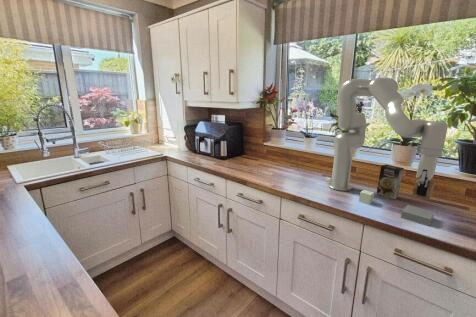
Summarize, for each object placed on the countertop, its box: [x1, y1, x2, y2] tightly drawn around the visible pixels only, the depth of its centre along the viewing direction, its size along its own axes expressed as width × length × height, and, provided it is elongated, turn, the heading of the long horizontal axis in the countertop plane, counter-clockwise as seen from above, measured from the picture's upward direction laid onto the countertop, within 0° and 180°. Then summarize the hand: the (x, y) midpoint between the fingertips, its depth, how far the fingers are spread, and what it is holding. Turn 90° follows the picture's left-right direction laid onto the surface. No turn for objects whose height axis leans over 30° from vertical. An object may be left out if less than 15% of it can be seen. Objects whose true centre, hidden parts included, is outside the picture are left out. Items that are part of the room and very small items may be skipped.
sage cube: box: [358, 189, 375, 205], centre depth 127 cm, size 5×5×5 cm
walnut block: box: [412, 178, 436, 200], centre depth 107 cm, size 6×6×6 cm
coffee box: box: [375, 164, 405, 200], centre depth 134 cm, size 9×6×16 cm
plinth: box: [400, 204, 435, 227], centre depth 110 cm, size 10×10×3 cm
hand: (422, 192), depth 108 cm, fingers closed on walnut block, 6 cm apart
